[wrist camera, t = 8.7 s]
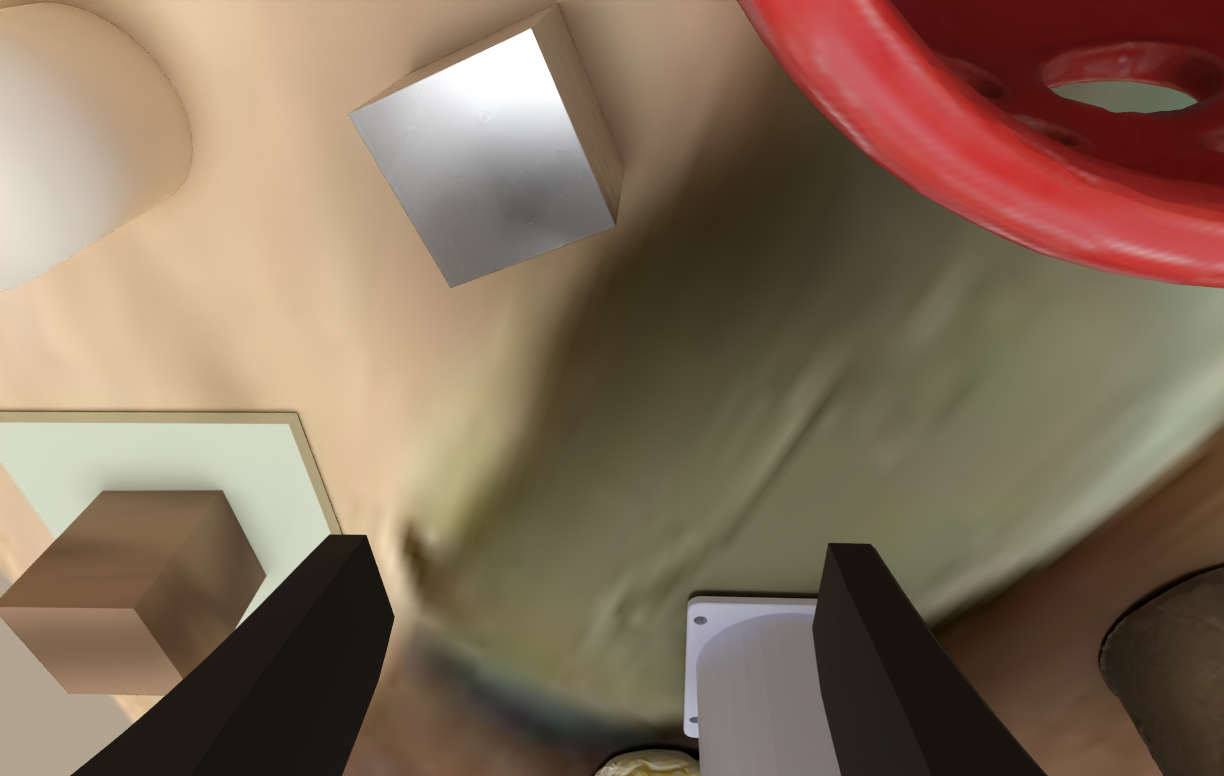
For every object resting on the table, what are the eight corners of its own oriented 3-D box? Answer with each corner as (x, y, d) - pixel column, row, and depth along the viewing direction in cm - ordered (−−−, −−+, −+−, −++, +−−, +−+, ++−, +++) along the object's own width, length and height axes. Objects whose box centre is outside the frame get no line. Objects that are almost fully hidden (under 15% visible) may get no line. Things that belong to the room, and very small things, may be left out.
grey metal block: (624, 166, 18) (615, 226, 15) (487, 221, 19) (450, 288, 16) (558, 2, 16) (531, 28, 13) (409, 73, 17) (348, 114, 14)
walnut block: (266, 576, 27) (195, 696, 23) (157, 574, 27) (68, 693, 23) (222, 490, 24) (133, 608, 20) (102, 490, 25) (-9, 607, 21)
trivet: (375, 622, 29) (369, 634, 29) (127, 615, 30) (118, 627, 30) (296, 412, 23) (288, 424, 22) (-15, 411, 24) (-29, 422, 23)
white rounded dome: (221, 206, 19) (99, 289, 15) (49, 209, 19) (-115, 292, 15) (143, -3, 16) (-33, 29, 12) (-56, 6, 17) (-292, 40, 12)
